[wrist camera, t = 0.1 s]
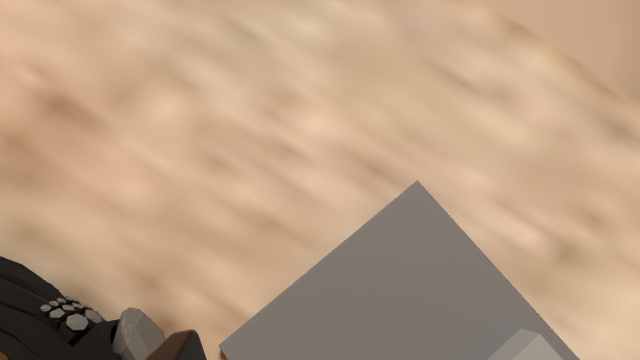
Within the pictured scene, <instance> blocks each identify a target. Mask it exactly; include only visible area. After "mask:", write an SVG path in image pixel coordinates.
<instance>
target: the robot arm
mask: <svg viewBox="0 0 640 360" xmlns="http://www.w3.org/2000/svg"><path fill="white" fill-rule="evenodd" d="M145 360H207V359H206V356H205V353H204V350H203V347H202V344H201V341H200V338H199V336H198V334H197V332H196V331H195V330H193V329H191V330H186V331H180V332H175V333H173V334H172V335H170V336H169V337H168V338H167V339H166V340H165V341H164V342H163V343H162V344H161V345H160V346H159V347H158V348H157V349H156V350H154V351H153V352H152V353H151V354H150V355H149V356H148V357H147V358H146V359H145Z"/></svg>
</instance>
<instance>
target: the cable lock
mask: <svg viewBox="0 0 640 360" xmlns="http://www.w3.org/2000/svg"><path fill="white" fill-rule="evenodd" d="M164 341H165V336H164V333H163V331H162V330H161V329H160V328H159V327H158V326H157V325H156V324H155V323H154V322H153V321H152V320H151V319H150V318H149V317H148V316H146V315H145V314H144V313H143V312H142V311H141V310H140V309H135V308H128V309H126V310H125V311H123V312H122V315H121V318H120V319H118V320H113V321H108V322H106V320H105V319H104V318H103V317H102V316H101V315H100V314H99V313H98V312H97V311H94V310H93V309H92V308H91V307H89V306H87V305H85V304H82V303H80V302H79V301H78V300H77V299H74V298H73V297H69V296H65V297H64V296H63V295H62V294H61V293H60V292H59V290H58V289H56V288H55V287H54V286H53V285H52V284H50V283H48V282H46V281H45V280H43V279H42V278H41V277H39V276H38V275H36V274H35V273H34V272H32V271H31V270H29V269H28V268H26V267H25V266H24V265H22V264H19V263H17V262H14V261H12V260H9V259H6V258H4V257H1V256H0V351H1V352H2V353H4V354H5V355H6V356H7V357H8V359H9V360H145V359H146V358H147V357H148V356H149V355H150V354H151V353H152V352H153V351H154V350H156V349H157V348H158V347H159V346H160V345H161V344H162V343H163V342H164Z"/></svg>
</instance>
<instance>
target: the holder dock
mask: <svg viewBox="0 0 640 360" xmlns="http://www.w3.org/2000/svg"><path fill="white" fill-rule="evenodd" d="M219 348H220V349H221V350H222V352H223V353H224V355H225V356H226V358H227V359H228V360H579V359H578V357H577V356H576V355H575V354H574V353H573V352H572V351H571V350H570V349H569V348H568V346H567V345H566V344H565V343H564V342H563V341H562V340H561V339H560V338H559V336H558V335H557V334H556V333H555V332H554V331H553V330H552V329H551V328H550V326H549V325H548V324H547V323H546V322H545V321H544V320H543V319H542V318H541V317H540V315H539V314H538V313H537V312H536V311H535V310H534V309H533V308H532V307H531V305H530V304H529V303H528V302H527V301H526V300H525V299H524V298H523V297H522V295H521V294H520V293H519V292H518V291H517V290H516V289H515V288H514V287H513V286H512V284H511V283H510V282H509V281H508V280H507V279H506V278H505V277H504V276H503V274H502V273H501V272H500V271H499V270H498V269H497V268H496V267H495V266H494V264H493V263H492V262H491V261H490V260H489V259H488V258H487V257H486V256H485V255H484V253H483V252H482V251H481V250H480V249H479V248H478V247H477V246H476V245H475V243H474V242H473V241H472V240H471V239H470V238H469V237H468V236H467V235H466V233H465V232H464V231H463V230H462V229H461V228H460V227H459V226H458V225H457V224H456V222H455V221H454V220H453V219H452V218H451V217H450V216H449V215H448V214H447V212H446V211H445V210H444V209H443V208H442V207H441V206H440V205H439V204H438V202H437V201H436V200H435V199H434V198H433V197H432V196H431V195H430V194H429V192H428V191H427V190H426V189H425V188H424V187H423V186H422V185H421V184H420V183H419V181H418V180H417V181H416V182H415V183H414V184H413V185H411V186H410V187H409V188H408V189H407V190H405V191H404V192H403V193H402V194H401V195H399V196H398V197H397V198H396V199H395V200H393V201H392V202H391V203H390V204H388V205H387V206H386V207H385V208H384V209H382V210H381V211H380V212H379V213H378V214H376V215H375V216H374V217H373V218H372V219H370V220H369V221H368V222H367V223H366V224H364V225H363V226H362V227H361V228H360V229H358V230H357V231H356V232H355V233H354V234H352V235H351V236H350V237H349V238H347V239H346V240H345V241H344V242H343V243H341V244H340V245H339V246H338V247H337V248H335V249H334V250H333V251H332V252H331V253H329V254H328V255H327V256H326V257H325V258H323V259H322V260H321V261H320V262H319V263H317V264H316V265H315V266H314V267H313V268H311V269H310V270H309V271H308V272H307V273H305V274H304V275H303V276H302V277H300V278H299V279H298V280H297V281H296V282H294V283H293V284H292V285H291V286H290V287H288V288H287V289H286V290H285V291H284V292H282V293H281V294H280V295H279V296H278V297H276V298H275V299H274V300H273V301H272V302H270V303H269V304H268V305H267V306H266V307H264V308H263V309H262V310H261V311H259V312H258V313H257V314H256V315H255V316H253V317H252V318H251V319H250V320H249V321H247V322H246V323H245V324H244V325H243V326H241V327H240V328H239V329H238V330H237V331H235V332H234V333H233V334H232V335H231V336H229V337H228V338H227V339H226V340H225V341H223V342H222V343H221V344H220V345H219Z"/></svg>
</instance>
